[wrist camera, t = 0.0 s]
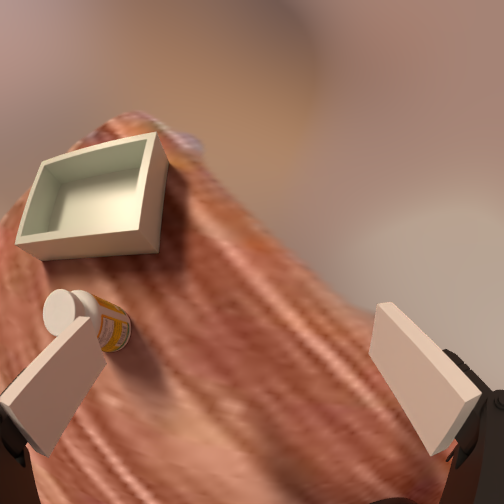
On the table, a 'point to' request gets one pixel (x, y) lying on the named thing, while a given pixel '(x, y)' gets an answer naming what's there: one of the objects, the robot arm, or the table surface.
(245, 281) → the table surface
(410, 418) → the robot arm
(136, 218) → the bin
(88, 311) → the supplement bottle
